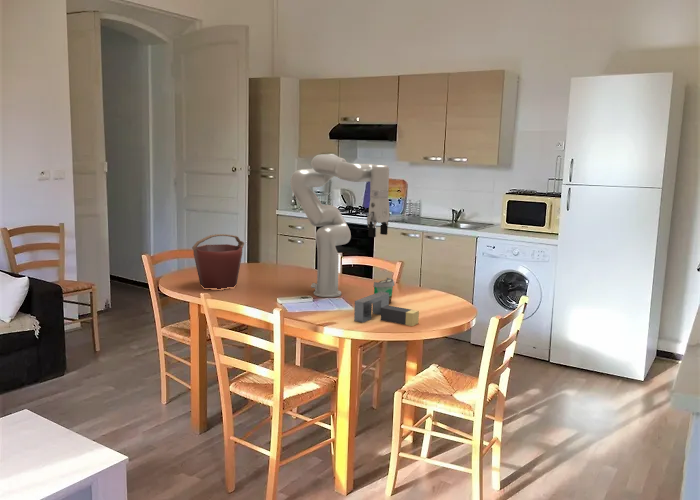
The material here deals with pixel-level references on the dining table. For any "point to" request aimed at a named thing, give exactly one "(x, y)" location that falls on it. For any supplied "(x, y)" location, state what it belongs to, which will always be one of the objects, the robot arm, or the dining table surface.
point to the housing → (370, 306)
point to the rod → (399, 315)
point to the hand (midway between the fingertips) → (377, 235)
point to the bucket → (218, 263)
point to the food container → (384, 287)
